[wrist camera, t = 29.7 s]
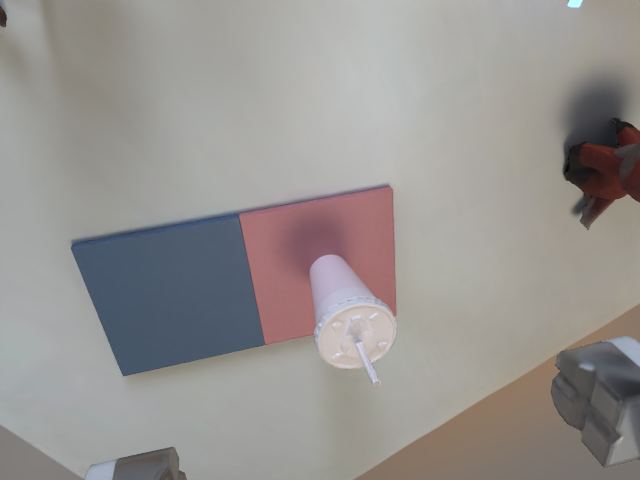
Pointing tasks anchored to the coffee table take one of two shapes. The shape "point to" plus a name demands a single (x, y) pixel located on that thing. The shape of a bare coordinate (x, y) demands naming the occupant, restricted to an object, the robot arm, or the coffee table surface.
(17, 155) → the coffee table surface
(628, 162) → the stuffed fox
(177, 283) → the board
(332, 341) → the smoothie
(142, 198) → the coffee table surface
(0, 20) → the lion figurine
